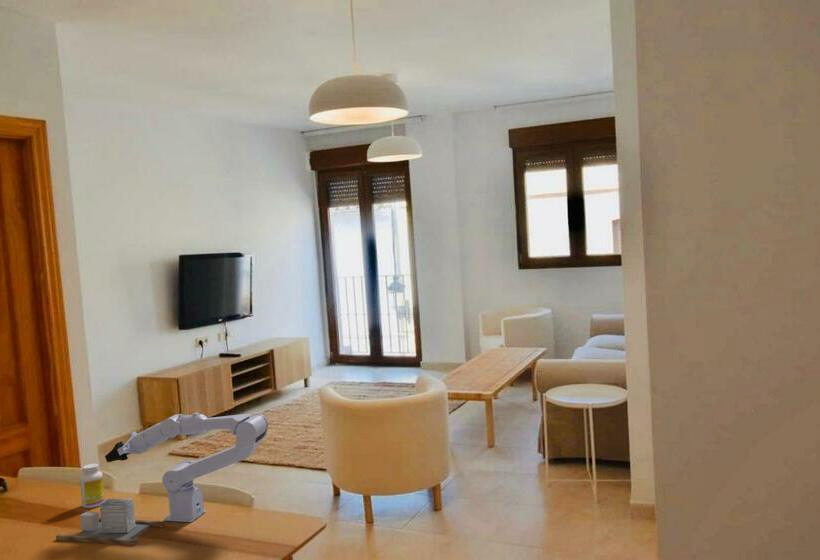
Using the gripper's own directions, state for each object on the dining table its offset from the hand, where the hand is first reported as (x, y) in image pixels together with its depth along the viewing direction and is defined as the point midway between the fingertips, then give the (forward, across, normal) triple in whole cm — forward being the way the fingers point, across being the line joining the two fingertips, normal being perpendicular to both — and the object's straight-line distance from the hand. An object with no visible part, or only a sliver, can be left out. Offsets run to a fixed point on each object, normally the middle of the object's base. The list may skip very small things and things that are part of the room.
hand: (115, 455), depth 197 cm
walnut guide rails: (+2, +11, +20) cm, 23 cm away
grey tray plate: (+2, +11, +20) cm, 23 cm away
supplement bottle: (+21, -8, +11) cm, 25 cm away
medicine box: (0, +11, +21) cm, 23 cm away
